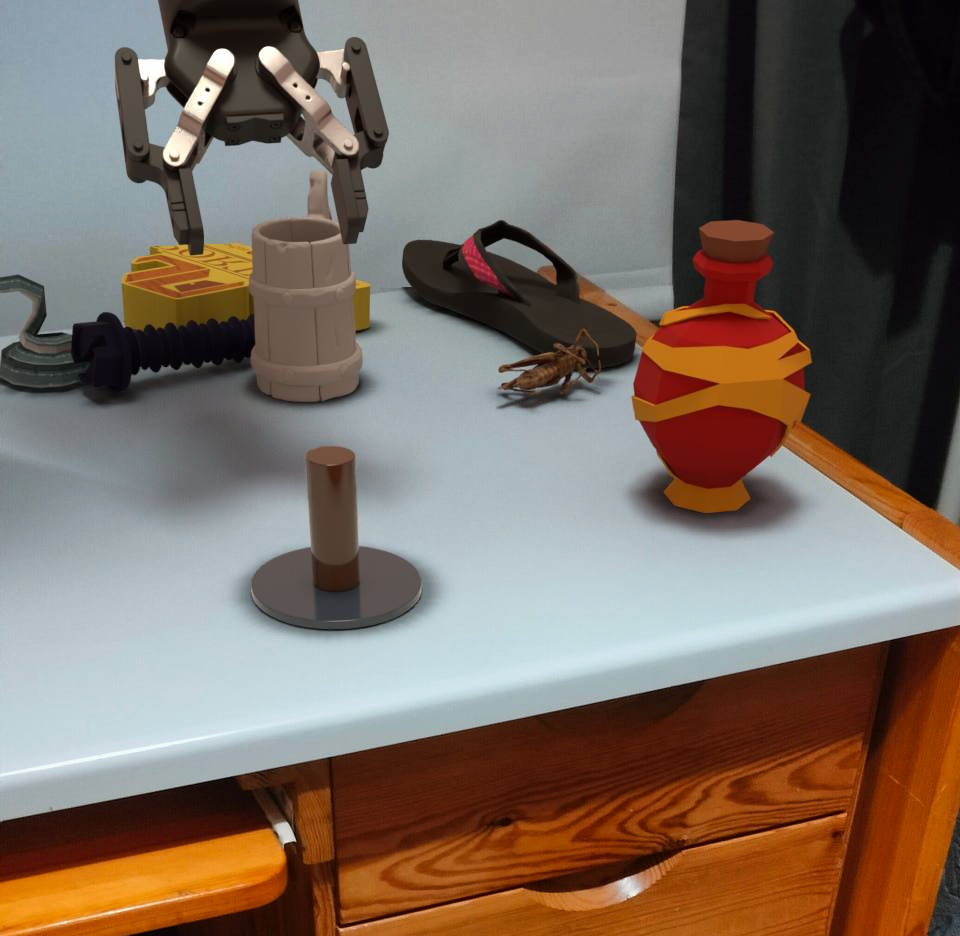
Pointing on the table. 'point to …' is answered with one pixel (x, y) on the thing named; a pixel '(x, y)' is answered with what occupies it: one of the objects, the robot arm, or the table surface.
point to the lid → (335, 560)
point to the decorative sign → (200, 287)
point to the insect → (551, 368)
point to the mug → (304, 305)
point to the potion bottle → (721, 375)
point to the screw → (155, 347)
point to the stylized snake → (37, 345)
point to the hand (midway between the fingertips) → (276, 242)
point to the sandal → (516, 294)
